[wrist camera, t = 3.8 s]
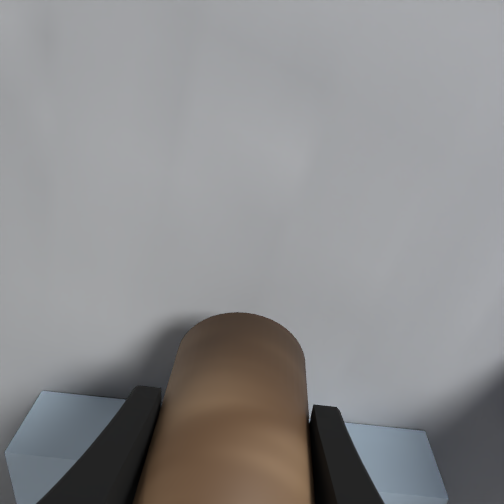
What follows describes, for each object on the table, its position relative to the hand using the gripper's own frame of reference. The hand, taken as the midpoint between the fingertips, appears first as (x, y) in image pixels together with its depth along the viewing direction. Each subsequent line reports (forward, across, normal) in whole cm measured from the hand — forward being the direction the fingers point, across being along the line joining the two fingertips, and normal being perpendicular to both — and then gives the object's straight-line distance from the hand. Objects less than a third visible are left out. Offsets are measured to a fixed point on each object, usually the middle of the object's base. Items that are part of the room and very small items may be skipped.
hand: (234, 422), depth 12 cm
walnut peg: (+2, 0, 0) cm, 2 cm away
